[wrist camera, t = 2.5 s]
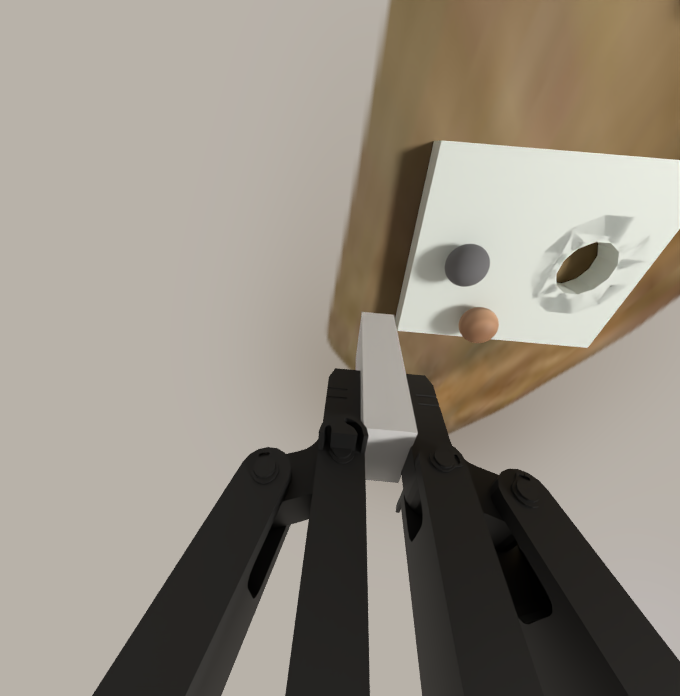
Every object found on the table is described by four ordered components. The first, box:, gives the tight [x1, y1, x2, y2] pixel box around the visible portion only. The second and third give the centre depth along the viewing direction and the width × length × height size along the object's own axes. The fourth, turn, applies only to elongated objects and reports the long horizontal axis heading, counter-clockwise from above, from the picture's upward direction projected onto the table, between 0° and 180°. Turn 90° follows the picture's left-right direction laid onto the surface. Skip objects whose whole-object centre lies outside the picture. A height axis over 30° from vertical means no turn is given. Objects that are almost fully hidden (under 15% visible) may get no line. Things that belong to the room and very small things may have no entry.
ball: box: [445, 244, 490, 287], centre depth 22 cm, size 3×3×3 cm
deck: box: [395, 141, 680, 348], centre depth 25 cm, size 16×20×2 cm
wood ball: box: [459, 307, 499, 343], centre depth 26 cm, size 3×3×3 cm
